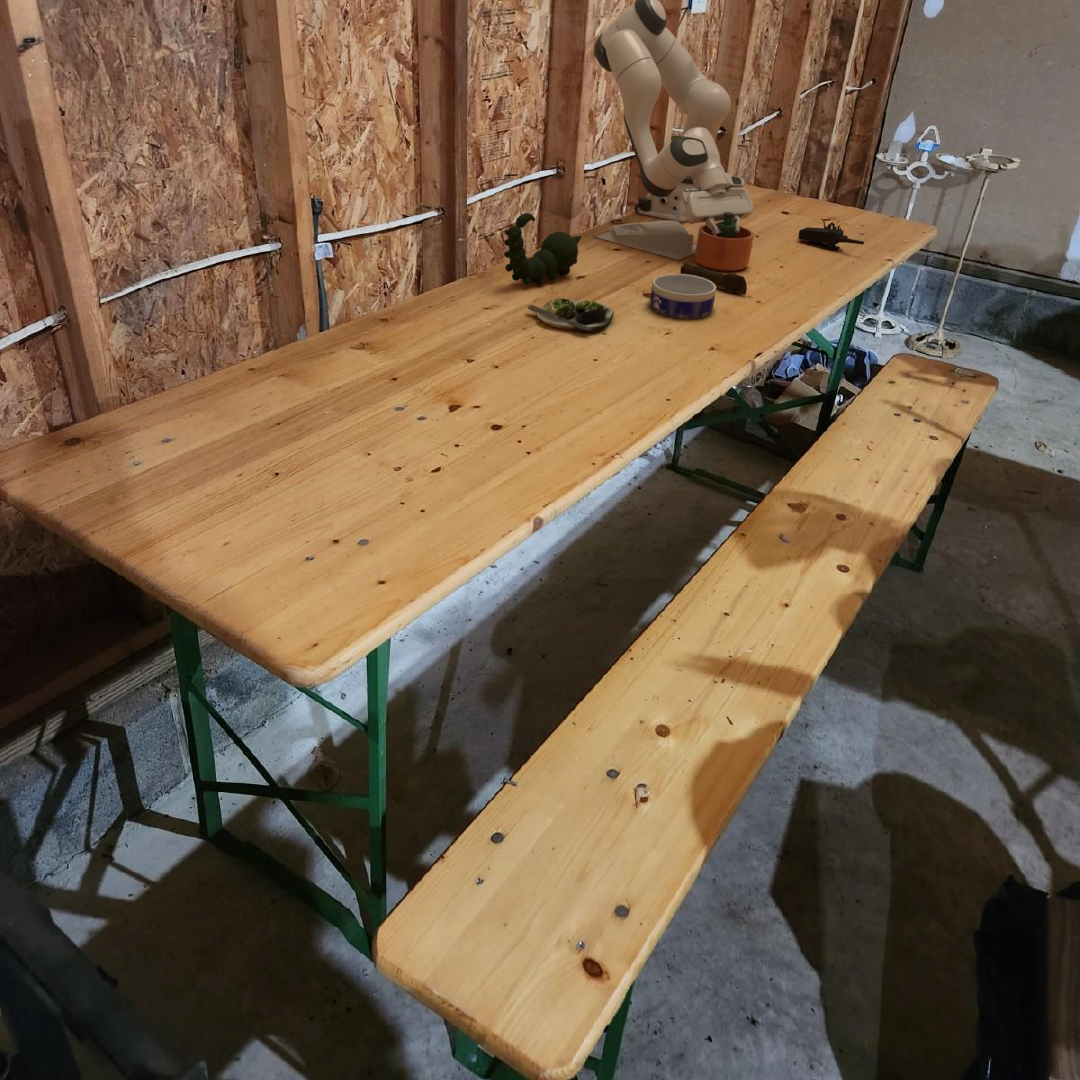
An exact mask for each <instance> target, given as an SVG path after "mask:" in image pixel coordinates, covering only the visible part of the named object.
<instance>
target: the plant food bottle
mask: <svg viewBox="0 0 1080 1080" xmlns="http://www.w3.org/2000/svg"><path fill="white" fill-rule="evenodd" d="M733 217H734V213H731V212H725V213H724V220H723V221H718V222H717V223H718V227H720V230H721V234H719V236H717V237H723V238H734V235H735V229H736V224H734V223H732V218H733Z"/></svg>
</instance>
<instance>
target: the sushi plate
mask: <svg viewBox="0 0 1080 1080" xmlns="http://www.w3.org/2000/svg"><path fill="white" fill-rule="evenodd" d="M526 308H527V310H530V311H531V312H533V313H535V314H536V316H537V317H536V318H538V319H539V320H540V321H542V322H543V323H545V324H547V325H549V326H551V327H553V328H557V329H562V330H567V331H572V332H577V333H584V334H592V333H593V334H594V333H598V332H601V331H604V330H605V329H606V328H607V326H608V325H609V324H610V323H611V320H612V319H613V317H614V313H615V312H614V309H613V308H612V307H611V306H608V305H606V304H603V303H600V302H597V301H593V300H590V301H589V300H583V301H581V300H577V299H571V298H564V297H563V298H562V297H559V298H554V299H550V300H547V301H545V303H544V304H543V305H542V307H541V308H540V307H538V306H537V305H534V304H528V305H527V307H526Z"/></svg>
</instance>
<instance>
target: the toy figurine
mask: <svg viewBox="0 0 1080 1080" xmlns="http://www.w3.org/2000/svg"><path fill="white" fill-rule="evenodd" d="M530 221H531V222H535V221H536V218H535V216H534V214H532V213H529V212H524V213H521V214H520V215H518V217H517V218H516V220H515V224H514V225H513V224H512V225H510V226H509V227H508V229H505V230H504V235H505V236H507V237H508V238H506V239H504V241H503V244H504V245H505V246H507V247H508V250H506V251H504V253H503V256H504V257H505V258H507V259H508V258H509V263H507V264H505V267H504V269H505V271H507V272H509V273H510V272H512V274H511V279H512V280H513V281H515V282H517V281H519V280H521V281H522V284H523V285H525V286H529V285H530V284H531V283H535V285H537V286H539V287H541V286H543V285H544V283H545V279H544V278H547V280H548V281H551V282H554V281H556V280H557V279H558V275H559V276H560V277H564V276H568V275H570V272H571V268H572V267H573V266H574V265H576V264H577V263H578V256H579V247H578V244H579V242H580V240H581V239H582V236H581V235H575V236H572V235H570V234H569V233H568V232H565V231H555V232H552V233H550V234H548V235H547V236H546V237H545V238H544V239H543V241H542V243H541V246H540V249H539V250H537V251H536V252H535V253H533V255H532V256H530V257H527V256H526V255H527V253H526V252H527V251H526V249H525V247H524V242H525V241H524V238H523V232H522V229H523V228H524V227H525V226H527V224H528V223H529V222H530Z"/></svg>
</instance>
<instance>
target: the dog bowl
mask: <svg viewBox="0 0 1080 1080" xmlns="http://www.w3.org/2000/svg"><path fill="white" fill-rule="evenodd" d="M716 292H717V286H716V285H715V284H714V283H713V282H711V281H710V280H707V279H705V278H702V277H698V276H694V275H687V274H680V273H667V274H661V275H657V276H656V277H654V278H653V279H652V283H651V291H650V302H649V305H650V308H651V310H653V311H654V312H656V313H657V314H661V315H662V316H665V317H669V318H675V319H682V320H683V319H684V320H686V319H687V320H692V319H693V320H695V319H701V318H706V317H708V316H709V315H711V314H712V312H713V310H714V309H713V308H714V304H715V299H716V294H717V293H716Z"/></svg>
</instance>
